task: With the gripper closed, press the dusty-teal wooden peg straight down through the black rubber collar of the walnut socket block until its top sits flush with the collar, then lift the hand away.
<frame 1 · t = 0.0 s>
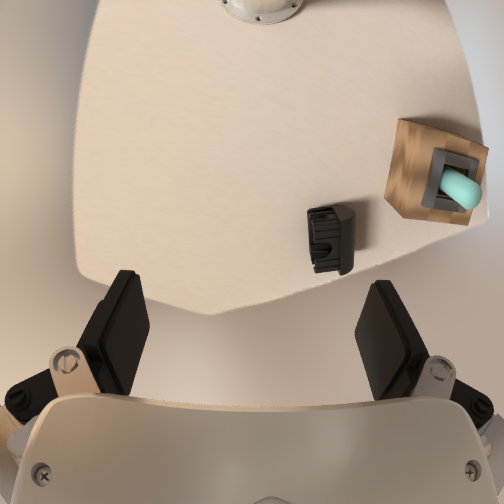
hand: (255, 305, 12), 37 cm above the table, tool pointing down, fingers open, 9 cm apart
socket block: (425, 165, 45), on the table
end cap: (328, 229, 52), on the table
peg: (455, 184, 37), point 10 cm above the table, slide at 5.0 cm
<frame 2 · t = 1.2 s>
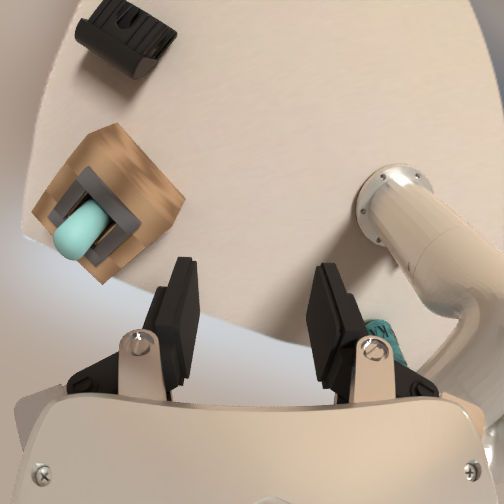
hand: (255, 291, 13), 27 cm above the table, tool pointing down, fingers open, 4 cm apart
beverage bottle: (371, 324, 52), on the table
socket block: (117, 192, 39), on the table
end cap: (135, 38, 28), on the table
peg: (87, 223, 31), point 10 cm above the table, slide at 5.0 cm
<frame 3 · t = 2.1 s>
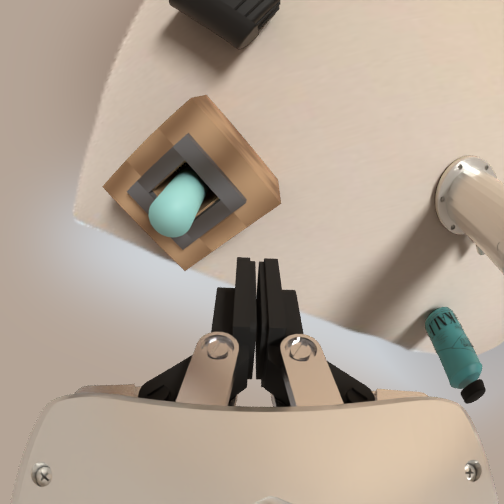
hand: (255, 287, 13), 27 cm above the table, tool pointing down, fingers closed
beverage bottle: (435, 312, 49), on the table
socket block: (200, 171, 38), on the table
end cap: (228, 10, 27), on the table
peg: (182, 198, 30), point 10 cm above the table, slide at 5.0 cm
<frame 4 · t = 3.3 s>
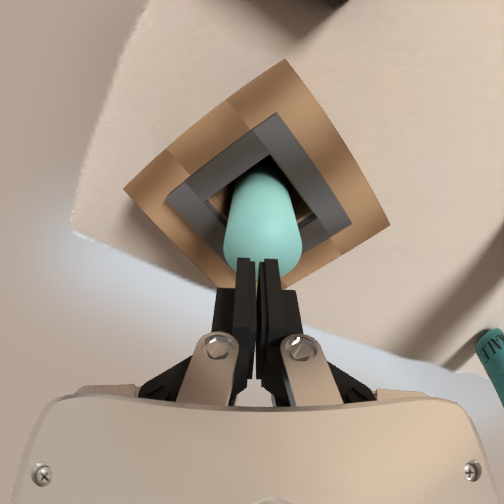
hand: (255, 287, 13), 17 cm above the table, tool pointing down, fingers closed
beverage bottle: (484, 333, 41), on the table
socket block: (259, 170, 27), on the table
peg: (261, 212, 19), point 9 cm above the table, slide at 5.0 cm
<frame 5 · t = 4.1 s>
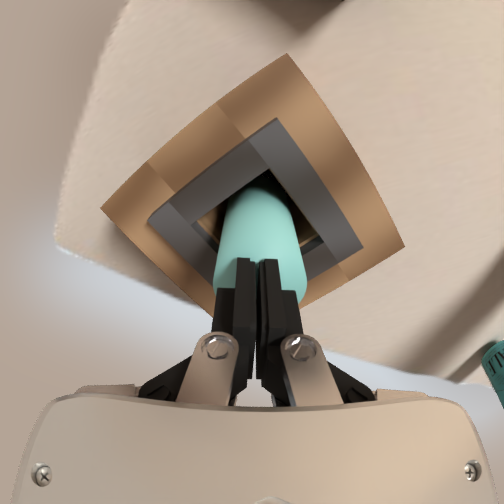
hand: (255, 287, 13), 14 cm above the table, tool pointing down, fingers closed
beverage bottle: (490, 345, 38), on the table
socket block: (257, 182, 25), on the table
peg: (258, 235, 17), point 9 cm above the table, slide at 4.7 cm, touching gripper
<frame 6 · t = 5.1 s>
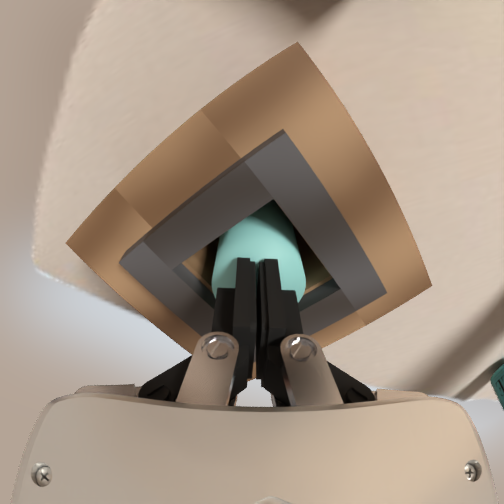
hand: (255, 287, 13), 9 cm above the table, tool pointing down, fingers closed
beverage bottle: (500, 362, 35), on the table
socket block: (256, 201, 21), on the table
peg: (257, 235, 17), point 5 cm above the table, slide at 0.4 cm, touching gripper
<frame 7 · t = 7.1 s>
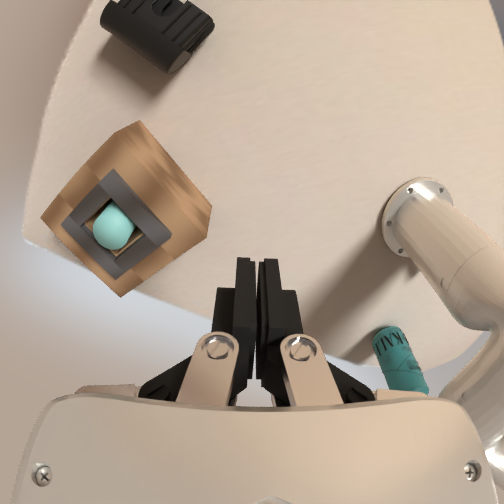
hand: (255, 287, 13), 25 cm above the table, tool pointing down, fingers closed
beverage bottle: (383, 330, 53), on the table
socket block: (135, 196, 36), on the table
end cap: (165, 28, 26), on the table
peg: (123, 213, 32), point 5 cm above the table, slide at 0.4 cm
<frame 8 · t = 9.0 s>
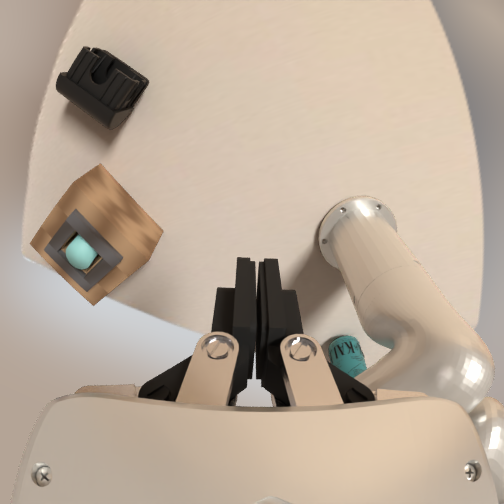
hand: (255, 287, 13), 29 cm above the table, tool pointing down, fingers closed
beverage bottle: (341, 339, 57), on the table
socket block: (104, 224, 43), on the table
end cap: (112, 85, 33), on the table
peg: (91, 240, 39), point 5 cm above the table, slide at 0.4 cm
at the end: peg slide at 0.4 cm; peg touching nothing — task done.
